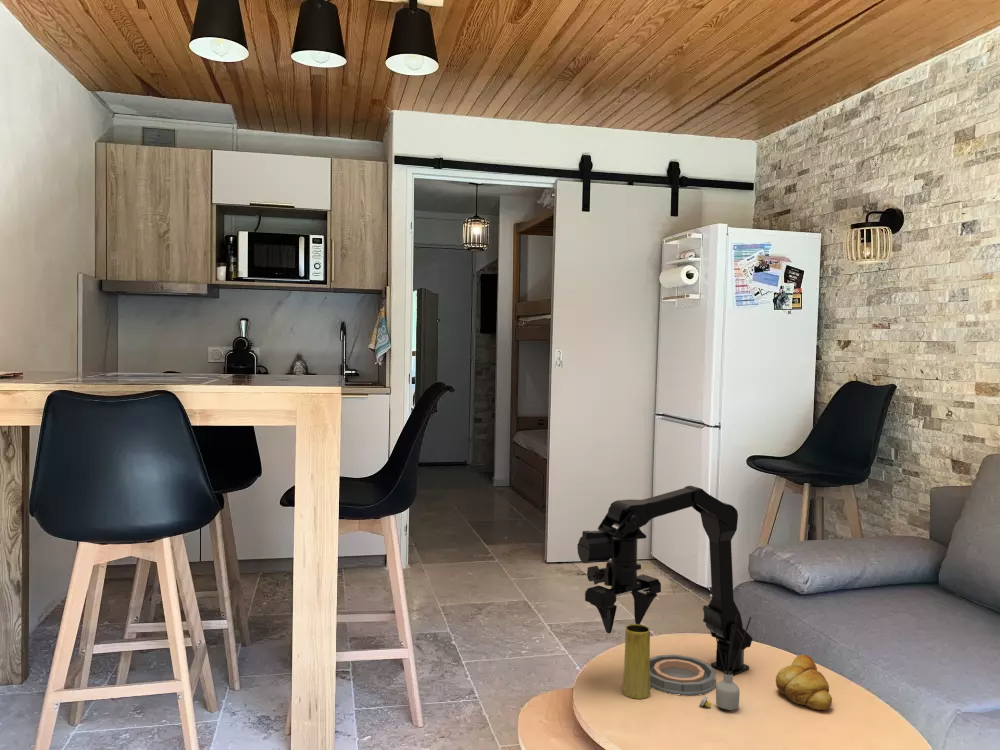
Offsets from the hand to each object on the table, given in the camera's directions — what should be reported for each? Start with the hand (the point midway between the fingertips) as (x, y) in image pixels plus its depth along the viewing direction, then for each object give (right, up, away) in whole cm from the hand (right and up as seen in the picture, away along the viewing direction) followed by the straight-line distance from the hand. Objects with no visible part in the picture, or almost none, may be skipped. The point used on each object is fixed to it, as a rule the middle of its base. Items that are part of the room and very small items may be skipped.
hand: (623, 628), depth 165 cm
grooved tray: (+13, -13, +4) cm, 19 cm away
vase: (+2, -13, -3) cm, 14 cm away
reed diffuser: (+20, -14, -11) cm, 26 cm away
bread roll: (+38, -14, -5) cm, 41 cm away
